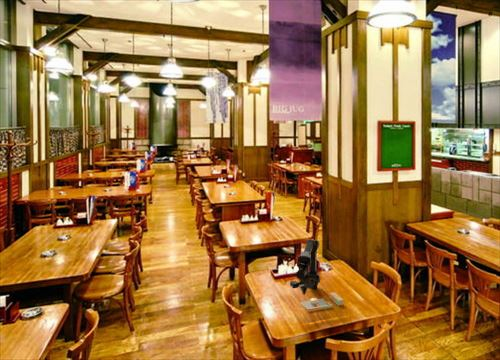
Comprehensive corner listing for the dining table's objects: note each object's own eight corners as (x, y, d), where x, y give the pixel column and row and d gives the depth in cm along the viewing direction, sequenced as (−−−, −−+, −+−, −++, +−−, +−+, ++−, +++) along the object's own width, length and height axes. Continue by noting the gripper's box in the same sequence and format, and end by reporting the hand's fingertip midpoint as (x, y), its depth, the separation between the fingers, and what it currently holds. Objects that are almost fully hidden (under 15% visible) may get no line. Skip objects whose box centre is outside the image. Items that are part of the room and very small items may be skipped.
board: (299, 303, 247) (299, 300, 246) (322, 299, 252) (322, 296, 252) (308, 313, 235) (308, 309, 234) (332, 308, 240) (332, 304, 240)
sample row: (328, 299, 253) (329, 293, 252) (334, 298, 254) (335, 292, 254) (337, 307, 242) (337, 300, 241) (343, 305, 244) (344, 299, 243)
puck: (309, 302, 247) (309, 298, 247) (315, 300, 249) (315, 297, 248) (312, 305, 243) (312, 302, 242) (319, 304, 244) (319, 300, 244)
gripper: (296, 280, 229) (296, 302, 232) (322, 276, 235) (321, 297, 237) (289, 273, 239) (289, 294, 242) (314, 269, 245) (313, 290, 248)
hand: (303, 294), depth 242 cm, fingers closed
